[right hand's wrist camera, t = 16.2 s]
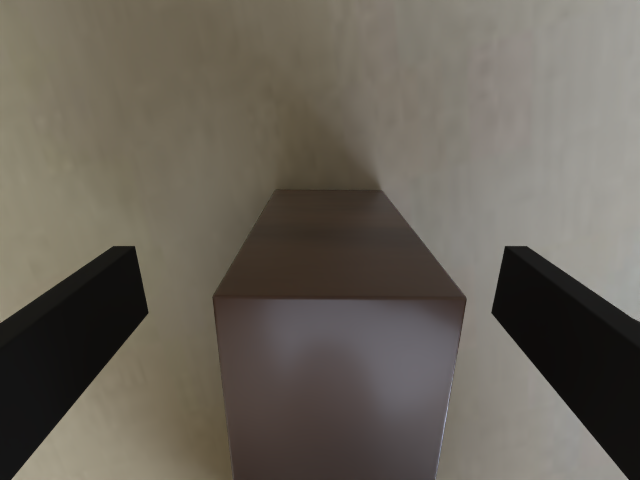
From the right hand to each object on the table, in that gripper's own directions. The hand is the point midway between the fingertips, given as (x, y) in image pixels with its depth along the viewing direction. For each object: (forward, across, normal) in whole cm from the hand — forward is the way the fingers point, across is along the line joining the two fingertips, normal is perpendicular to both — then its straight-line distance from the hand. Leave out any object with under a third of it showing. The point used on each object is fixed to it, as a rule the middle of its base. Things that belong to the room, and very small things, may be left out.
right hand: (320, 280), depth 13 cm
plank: (+4, 0, -11) cm, 12 cm away
